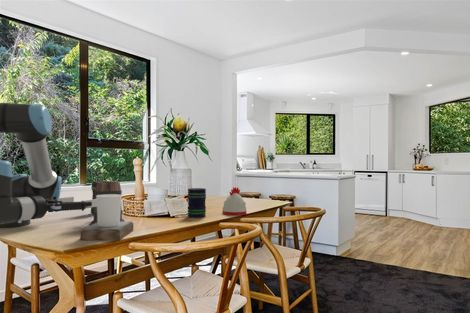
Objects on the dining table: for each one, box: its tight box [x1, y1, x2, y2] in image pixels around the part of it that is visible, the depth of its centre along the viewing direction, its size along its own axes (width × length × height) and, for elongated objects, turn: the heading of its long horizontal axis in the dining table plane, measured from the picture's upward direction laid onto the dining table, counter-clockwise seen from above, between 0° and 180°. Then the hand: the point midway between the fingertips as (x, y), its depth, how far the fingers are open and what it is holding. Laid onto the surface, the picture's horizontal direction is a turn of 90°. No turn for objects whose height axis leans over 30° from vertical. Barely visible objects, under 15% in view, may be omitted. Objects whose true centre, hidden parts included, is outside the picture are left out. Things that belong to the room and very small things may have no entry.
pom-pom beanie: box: [222, 186, 247, 216], centre depth 203 cm, size 14×14×15 cm
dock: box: [79, 220, 134, 241], centre depth 142 cm, size 15×18×4 cm
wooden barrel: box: [90, 180, 110, 215], centre depth 198 cm, size 10×8×19 cm
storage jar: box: [187, 187, 207, 219], centre depth 190 cm, size 10×10×15 cm
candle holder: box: [96, 194, 123, 227], centre depth 142 cm, size 10×10×12 cm
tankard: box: [88, 181, 126, 226], centre depth 167 cm, size 24×17×20 cm
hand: (84, 201), depth 134 cm, fingers open, 13 cm apart
